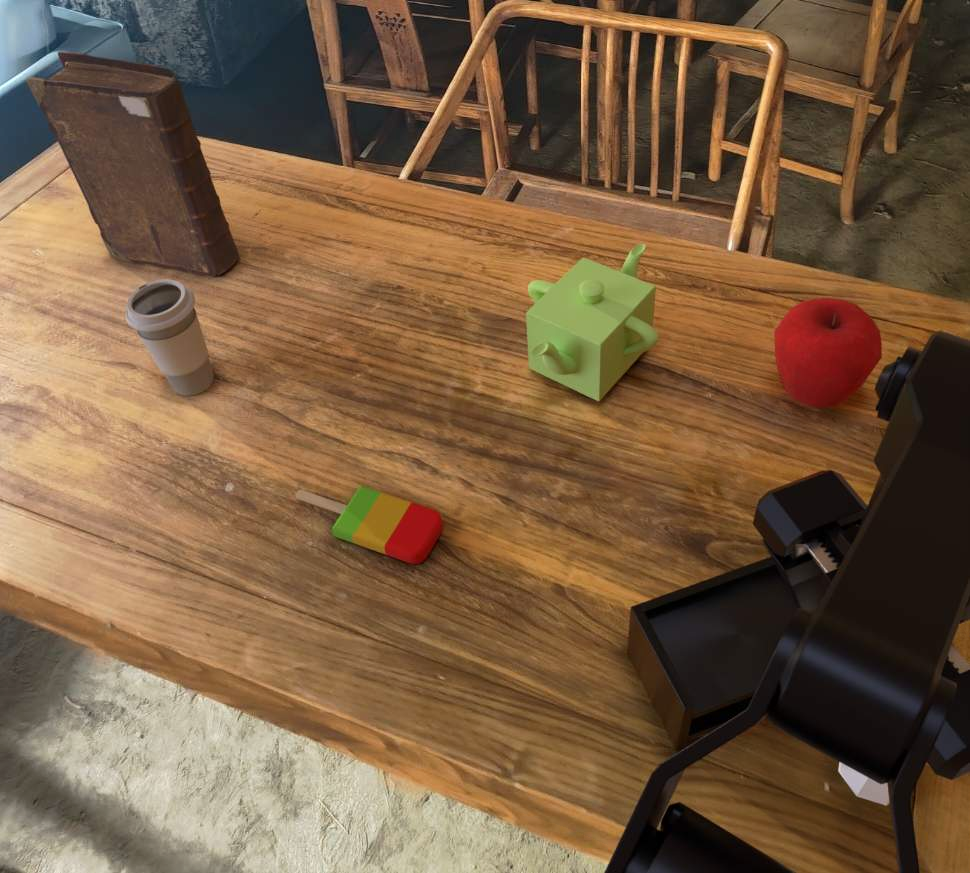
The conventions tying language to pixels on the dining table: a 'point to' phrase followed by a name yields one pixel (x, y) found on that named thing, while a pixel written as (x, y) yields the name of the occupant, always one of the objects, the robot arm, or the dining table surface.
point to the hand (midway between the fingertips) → (852, 674)
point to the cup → (172, 334)
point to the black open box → (709, 646)
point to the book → (137, 162)
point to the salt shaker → (864, 785)
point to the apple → (826, 351)
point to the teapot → (591, 324)
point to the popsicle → (383, 523)
